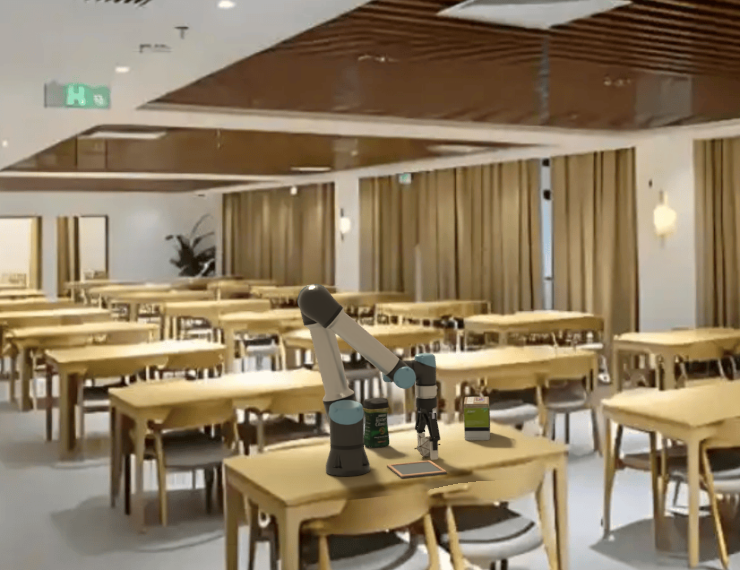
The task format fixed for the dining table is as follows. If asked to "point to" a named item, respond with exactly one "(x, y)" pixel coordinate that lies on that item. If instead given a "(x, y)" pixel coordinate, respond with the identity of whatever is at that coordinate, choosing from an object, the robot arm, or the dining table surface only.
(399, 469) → the mat
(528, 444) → the dining table surface
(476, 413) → the tea box
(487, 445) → the dining table surface
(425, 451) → the game die
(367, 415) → the coffee jar
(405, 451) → the dining table surface
